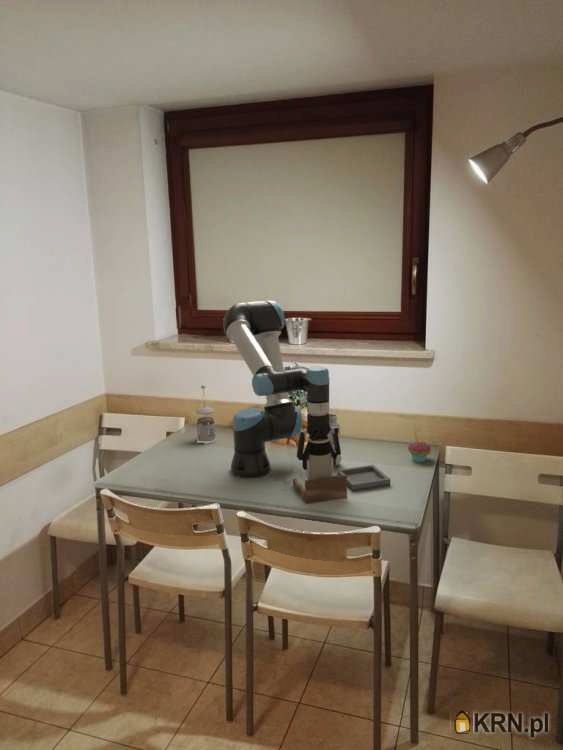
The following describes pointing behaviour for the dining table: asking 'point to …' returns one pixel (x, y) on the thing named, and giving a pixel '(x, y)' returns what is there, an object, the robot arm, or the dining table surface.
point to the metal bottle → (332, 423)
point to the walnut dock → (322, 489)
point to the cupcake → (419, 450)
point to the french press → (205, 423)
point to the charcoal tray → (364, 478)
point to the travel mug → (320, 458)
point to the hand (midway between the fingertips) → (319, 476)
